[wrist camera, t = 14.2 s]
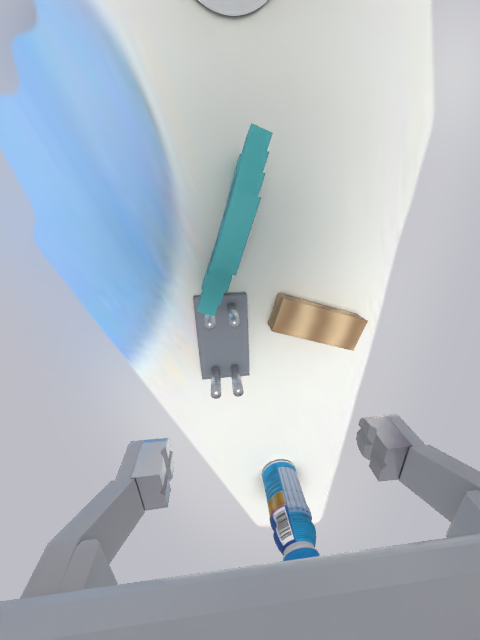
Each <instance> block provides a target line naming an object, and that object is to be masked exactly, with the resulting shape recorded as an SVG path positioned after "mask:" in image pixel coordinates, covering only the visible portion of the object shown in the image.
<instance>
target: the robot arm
mask: <svg viewBox="0 0 480 640" xmlns="http://www.w3.org/2000/svg"><path fill="white" fill-rule="evenodd" d="M198 1H199V2H200V3H202V4H203V5H204V6H206V7H207V8H209V9H211V10H213V11H215V12H217V13H220V14H223V15H229V16H239V15H244V14H248V13H250V12H253V11H255V10H256V9H258V8H260V7H261V6H262V5H264V4H265V3H266V2H267V1H268V0H198ZM359 426H360V427H361V429H360V430H359V431H358V432H357V437H356V440H357V444H358V447H359V450H360V452H361V454H362V455H363V456H364V457H365V458H367V459H368V460H369V467H370V468H371V470H372V472H373V473H374V475H375V476H376V478H377V479H378V481H388V480H399V481H400V482H401V483H403V484H404V485H405V486H407V487H408V488H409V489H410V490H411V491H413V492H414V493H415V494H416V495H418V496H419V497H420V498H421V499H423V500H424V501H425V502H426V503H428V504H429V505H430V506H431V507H433V508H434V509H435V510H436V511H438V512H439V513H440V514H441V515H443V516H444V517H445V518H446V519H448V520H449V521H450V522H451V525H450V527H449V529H448V531H447V535H446V537H447V538H444V539H436V540H429V541H422V542H415V543H409V544H401V545H394V546H387V547H380V548H373V549H366V550H359V551H352V552H344V553H337V554H331V555H323V556H316V557H309V558H302V559H295V560H288V561H281V562H274V563H267V564H260V565H253V566H246V567H239V568H232V569H225V570H219V571H211V572H204V573H197V574H190V575H184V576H176V577H170V578H162V579H155V580H148V581H141V582H134V583H127V584H120V585H117V582H116V579H115V577H114V574H113V572H112V570H111V568H110V566H109V564H110V562H111V561H112V559H113V558H114V557H115V555H116V554H117V552H118V551H119V549H120V548H121V546H122V545H123V543H124V542H125V540H126V539H127V537H128V536H129V535H130V533H131V532H132V530H133V529H134V527H135V526H136V524H137V523H138V521H139V520H140V518H141V517H142V516H143V514H144V512H145V510H152V509H159V508H165V507H168V502H169V496H170V490H171V489H170V484H169V481H170V480H171V479H172V477H173V470H174V458H173V452H172V451H170V447H171V443H170V439H169V438H164V439H152V440H142V441H141V440H140V441H131V442H130V444H129V445H128V447H127V450H126V453H125V456H124V458H123V461H122V463H121V466H120V469H119V471H118V474H117V477H116V479H115V481H111V482H110V483H109V484H108V485H107V486H105V488H104V489H102V490H101V492H99V493H98V494H97V495H96V496H95V497H94V499H92V500H91V502H89V503H88V504H87V505H86V506H85V507H84V508H83V509H82V510H81V511H80V512H79V513H78V514H77V516H75V517H74V518H73V519H72V520H71V521H70V522H69V523H68V524H67V525H66V526H65V527H64V528H63V529H62V530H61V531H60V532H59V533H58V534H57V535H56V536H55V537H54V538H53V539H52V540H51V541H50V542H49V543H48V545H47V546H46V548H45V550H44V553H43V554H42V556H41V558H40V560H39V562H38V564H37V566H36V568H35V570H34V572H33V574H32V576H31V578H30V580H29V582H28V584H27V586H26V588H25V590H24V592H23V594H22V595H21V597H20V599H14V600H7V601H0V640H480V472H479V471H477V470H475V469H474V468H472V467H470V466H468V465H466V464H464V463H462V462H461V461H459V460H457V459H455V458H453V457H451V456H449V455H447V454H446V453H444V452H442V451H440V450H438V449H436V448H434V447H432V446H431V445H425V444H424V443H423V442H422V440H420V438H419V437H418V436H417V435H416V434H415V433H414V432H413V431H412V430H411V429H410V427H409V426H408V425H407V424H406V423H405V422H404V421H403V420H402V419H401V418H400V417H399V416H398V415H396V414H393V415H384V416H383V415H382V416H374V417H365V418H361V419H360V421H359Z"/></svg>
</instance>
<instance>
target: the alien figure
mask: <svg viewBox="0 0 480 640" xmlns="http://www.w3.org/2000/svg"><path fill="white" fill-rule="evenodd" d="M271 136H272V132H269V131H267V130H265V129H263V128H260V127H258V126H256V125H254V124H251V126H250V129H249V131H248V134H247V137H246V140H245V143H244V147H243V150H242V154H240V156H239V159H238V163H237V166H236V170H235V173H234V178H233V181H232V185H231V189H230V193H229V196H228V200H227V204H226V208H225V211H224V215H223V218H222V222H221V225H220V229H219V232H218V236H217V239H216V243H215V246H214V250H213V252H212V255H211V259H210V262H209V265H208V268H207V272H206V274H205V278H204V281H203V285H202V293H201V296H200V300H199V304H198V309H197V312H200V313H204V314H207V315H211V316H214V317H215V314H216V311H217V307H218V305H221V302H222V298H223V295H224V292H227V291H228V288H229V285H230V282H231V278H232V275H236V273H237V270H238V267H239V263H240V260H241V257H242V254H243V251H244V248H245V245H246V242H247V239H248V236H249V233H250V230H251V227H252V224H253V221H254V218H255V214H256V211H257V208H258V205H259V202H260V199H261V197H258V195H259V191H260V188H261V185H262V182H263V179H264V176H265V173H263V170H264V167H265V163H266V160H267V157H268V154H269V152H268V151H267V149H268V146H269V143H270V139H271Z"/></svg>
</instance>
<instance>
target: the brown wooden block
mask: <svg viewBox="0 0 480 640" xmlns="http://www.w3.org/2000/svg"><path fill="white" fill-rule="evenodd" d="M367 322H368V321H367V320H365V319H364V318H362V317H360V316H359V315H357V314H355V313H351V312H347V311H343V310H340V309H336V308H332V307H329V306H325V305H321V304H318V303H314V302H310V301H307V300H303V299H299V298H295V297H292V296H288V295H284V294H281V293H278V296H277V299H276V301H275V304H274V307H273V310H272V313H271V316H270V319H269V321H268V325H269V327H270V328H271V330H272V331H273V332H277V333H281V334H286V335H290V336H294V337H298V338H302V339H307V340H311V341H315V342H319V343H323V344H328V345H332V346H336V347H340V348H344V349H348V350H354V348H355V346H356V344H357V342H358V340H359V338H360V336H361V334H362V332H363V330H364V328H365V326H366V324H367Z"/></svg>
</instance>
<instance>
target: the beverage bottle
mask: <svg viewBox="0 0 480 640" xmlns="http://www.w3.org/2000/svg"><path fill="white" fill-rule="evenodd" d="M262 477H263V482H264V486H265V492H266V497H267V502H268V508H269V514H270V523H271V527H272V529H273V530H274V540H275V543H276V545H277V547H278V549H279V550H280V552H281V553H282V554H283V555H284V557H283V561H288V560H295V559H302V558H309V557H316V556H320V555H319V553H318V551H317V550H316V549H315V543H316V531H315V527H314V525H313V523H312V522H311V520H312V517H311V512H310V510H309V508H308V506H307V504H306V501H305V498H304V495H303V492H302V489H301V486H300V483H299V480H298V477H297V473H296V469H295V467H294V465H293V464H292V463H290V462H288V461H285V460H278V461H274V462H272V463H270V464H268V465H267V466H266V467H265V468H264V470H263V473H262Z"/></svg>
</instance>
